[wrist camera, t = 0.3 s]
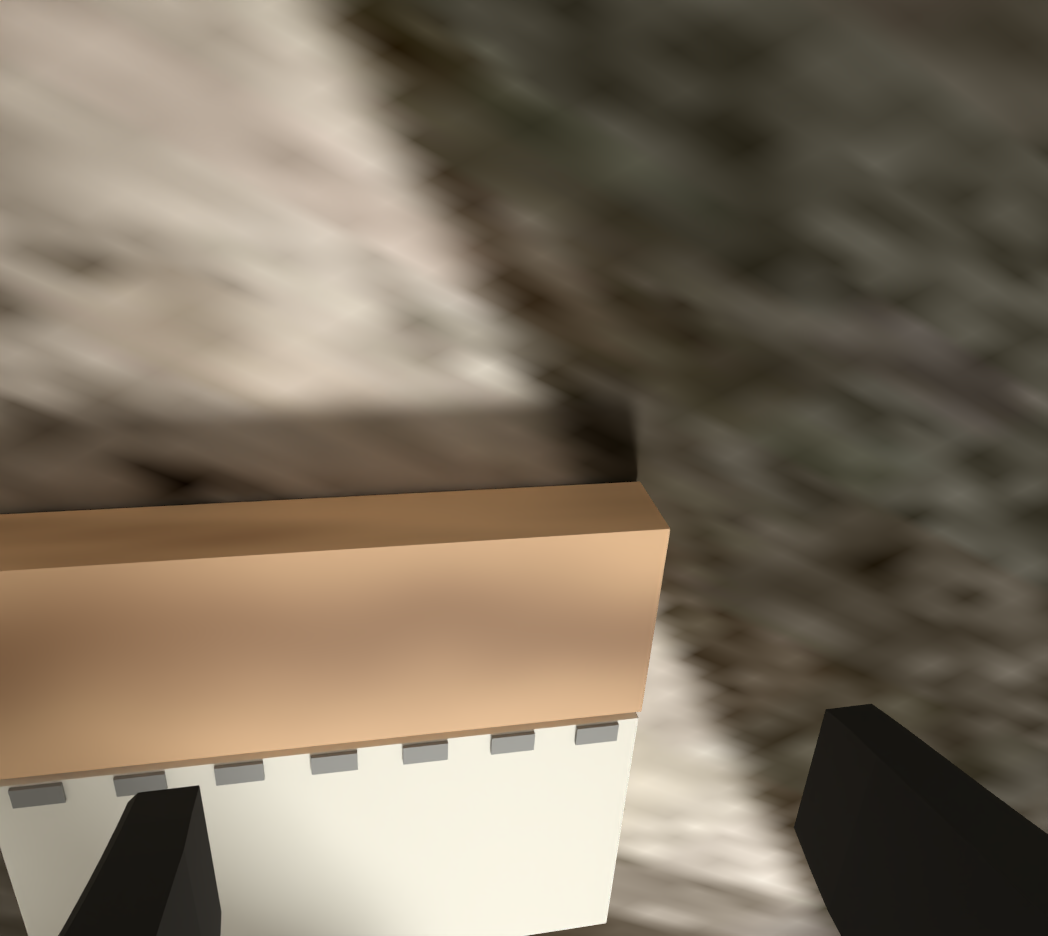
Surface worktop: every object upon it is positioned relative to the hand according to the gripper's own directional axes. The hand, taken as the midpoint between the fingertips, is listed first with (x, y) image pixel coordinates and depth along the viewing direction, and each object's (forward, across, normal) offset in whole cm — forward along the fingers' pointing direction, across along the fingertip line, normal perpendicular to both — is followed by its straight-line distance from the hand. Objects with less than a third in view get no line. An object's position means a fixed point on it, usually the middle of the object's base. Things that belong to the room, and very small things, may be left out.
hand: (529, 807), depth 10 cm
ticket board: (+10, +2, +10) cm, 14 cm away
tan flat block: (+10, +2, +4) cm, 11 cm away
